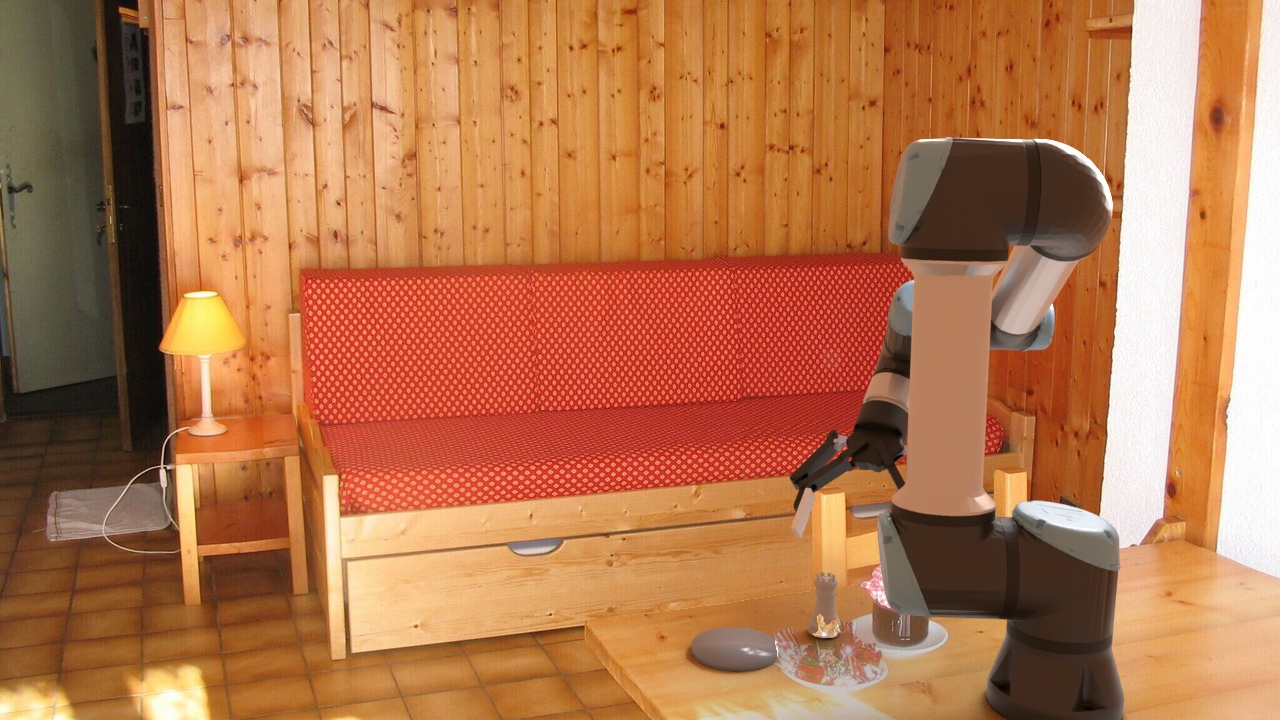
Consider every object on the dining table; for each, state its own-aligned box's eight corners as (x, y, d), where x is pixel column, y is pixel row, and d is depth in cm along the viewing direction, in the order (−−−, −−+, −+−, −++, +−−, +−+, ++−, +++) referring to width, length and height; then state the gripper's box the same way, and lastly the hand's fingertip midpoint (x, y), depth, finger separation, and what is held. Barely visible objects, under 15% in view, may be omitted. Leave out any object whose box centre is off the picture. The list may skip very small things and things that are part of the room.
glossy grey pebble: (792, 647, 163) (793, 638, 163) (754, 678, 154) (754, 669, 154) (717, 629, 169) (717, 620, 169) (675, 658, 160) (675, 649, 160)
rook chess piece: (818, 624, 171) (820, 567, 170) (847, 632, 168) (849, 575, 167) (800, 634, 168) (802, 576, 166) (830, 643, 165) (832, 584, 163)
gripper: (978, 438, 178) (937, 572, 168) (814, 415, 191) (766, 539, 181) (968, 408, 172) (925, 545, 162) (800, 387, 185) (750, 512, 175)
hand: (841, 542), depth 172 cm, fingers open, 13 cm apart
